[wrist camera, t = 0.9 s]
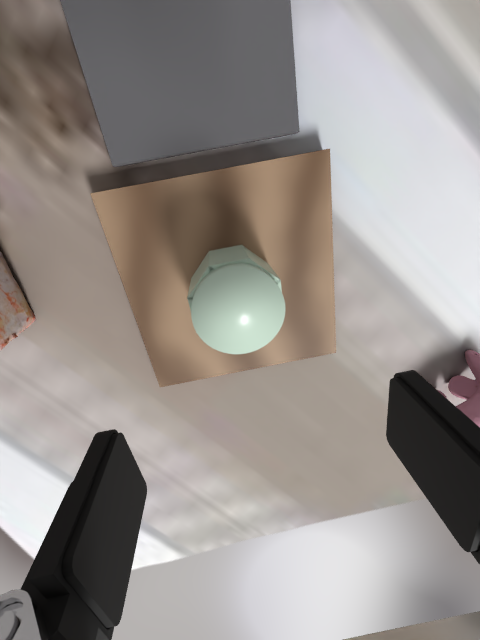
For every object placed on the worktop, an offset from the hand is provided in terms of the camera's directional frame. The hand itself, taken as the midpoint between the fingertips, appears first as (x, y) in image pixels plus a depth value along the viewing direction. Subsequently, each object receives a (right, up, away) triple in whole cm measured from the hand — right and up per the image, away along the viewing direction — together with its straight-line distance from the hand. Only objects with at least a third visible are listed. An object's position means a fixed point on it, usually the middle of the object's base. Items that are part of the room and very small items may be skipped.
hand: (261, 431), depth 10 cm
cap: (-1, +7, +15) cm, 17 cm away
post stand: (-2, +7, +16) cm, 18 cm away
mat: (-4, +21, +10) cm, 24 cm away
